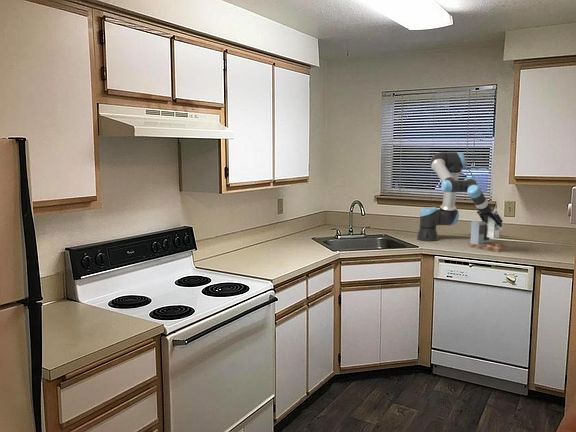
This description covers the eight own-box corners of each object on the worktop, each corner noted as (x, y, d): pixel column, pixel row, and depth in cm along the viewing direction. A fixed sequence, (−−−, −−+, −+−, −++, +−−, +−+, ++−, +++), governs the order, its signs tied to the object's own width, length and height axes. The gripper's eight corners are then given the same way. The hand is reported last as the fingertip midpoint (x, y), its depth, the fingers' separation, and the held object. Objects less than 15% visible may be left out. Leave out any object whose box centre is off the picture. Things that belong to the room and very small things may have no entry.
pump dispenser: (486, 242, 362) (488, 221, 360) (491, 245, 352) (492, 223, 350) (472, 242, 363) (473, 221, 361) (475, 244, 353) (477, 223, 351)
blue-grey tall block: (470, 243, 348) (471, 221, 346) (476, 242, 351) (477, 220, 349) (479, 244, 342) (480, 222, 340) (484, 243, 345) (485, 222, 343)
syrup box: (492, 236, 333) (493, 214, 331) (500, 237, 328) (501, 215, 326) (486, 237, 330) (487, 215, 329) (493, 238, 325) (495, 216, 323)
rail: (468, 246, 347) (468, 241, 347) (476, 244, 352) (476, 240, 352) (498, 252, 328) (498, 247, 328) (507, 250, 333) (507, 245, 333)
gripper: (466, 208, 326) (481, 231, 337) (493, 211, 310) (507, 235, 321) (472, 199, 328) (487, 222, 339) (499, 202, 313) (513, 226, 324)
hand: (497, 228), depth 330 cm, fingers closed on syrup box, 6 cm apart
